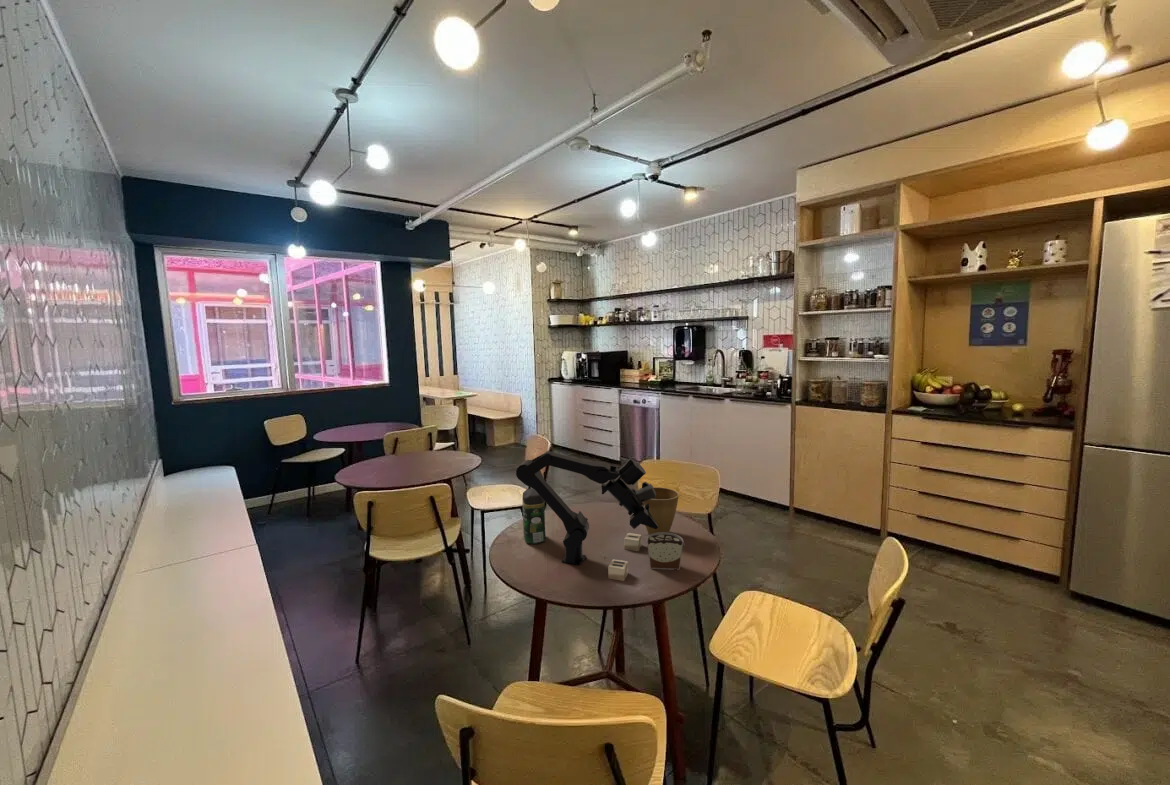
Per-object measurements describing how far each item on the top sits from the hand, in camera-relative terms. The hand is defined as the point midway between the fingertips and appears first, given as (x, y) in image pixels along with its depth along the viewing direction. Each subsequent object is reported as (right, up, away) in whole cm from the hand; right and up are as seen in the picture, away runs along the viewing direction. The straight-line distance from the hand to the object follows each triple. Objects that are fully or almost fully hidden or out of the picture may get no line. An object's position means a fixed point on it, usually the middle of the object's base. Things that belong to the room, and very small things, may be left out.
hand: (657, 528), depth 153 cm
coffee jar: (-42, -11, +22) cm, 48 cm away
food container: (+2, -12, +1) cm, 13 cm away
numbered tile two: (-13, -13, -6) cm, 20 cm away
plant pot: (+4, -10, +25) cm, 27 cm away
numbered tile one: (-6, -11, +14) cm, 19 cm away
